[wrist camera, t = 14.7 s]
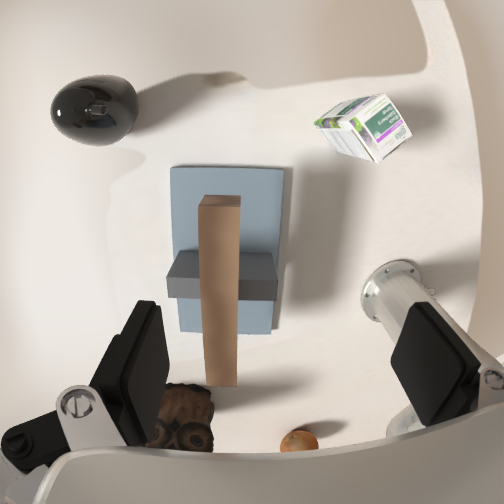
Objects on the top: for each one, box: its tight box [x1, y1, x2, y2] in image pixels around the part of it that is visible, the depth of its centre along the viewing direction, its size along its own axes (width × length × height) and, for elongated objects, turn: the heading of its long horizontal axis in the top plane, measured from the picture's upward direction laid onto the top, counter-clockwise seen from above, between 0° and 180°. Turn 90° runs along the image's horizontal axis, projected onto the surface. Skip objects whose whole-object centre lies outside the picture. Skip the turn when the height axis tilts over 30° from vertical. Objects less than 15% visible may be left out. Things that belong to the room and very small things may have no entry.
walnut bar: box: [198, 195, 241, 387], centre depth 34 cm, size 4×24×6 cm, turn 178°
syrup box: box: [314, 93, 413, 163], centre depth 32 cm, size 6×6×14 cm
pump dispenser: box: [50, 75, 138, 146], centre depth 30 cm, size 10×10×15 cm
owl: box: [146, 383, 215, 453], centre depth 49 cm, size 13×13×20 cm
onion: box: [280, 430, 318, 452], centre depth 62 cm, size 10×10×10 cm
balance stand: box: [166, 167, 284, 334], centre depth 42 cm, size 16×28×10 cm, turn 178°
